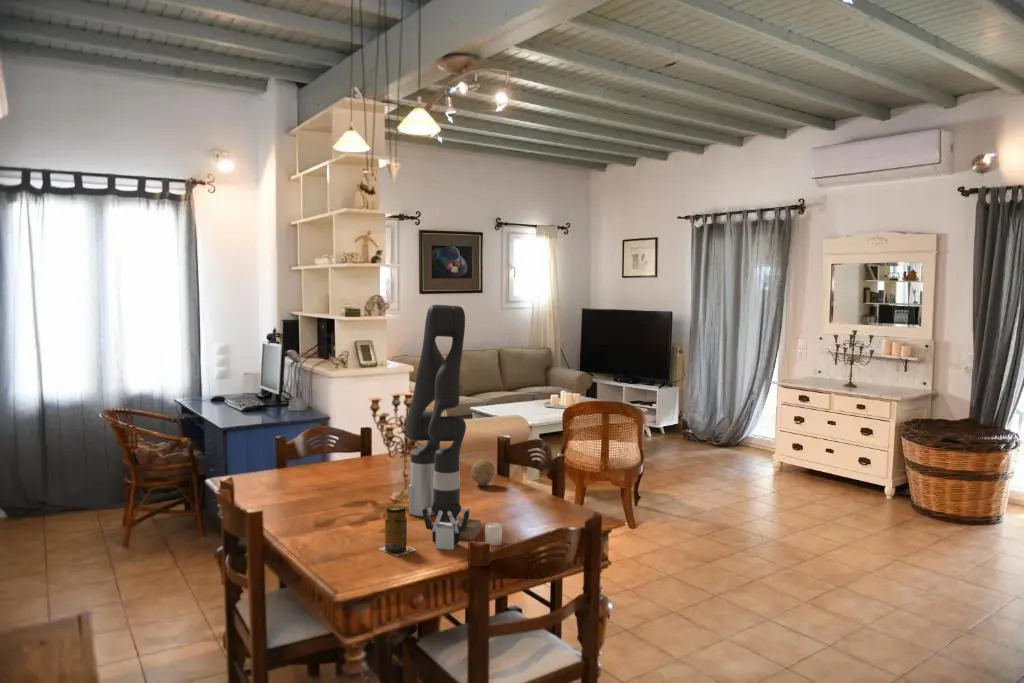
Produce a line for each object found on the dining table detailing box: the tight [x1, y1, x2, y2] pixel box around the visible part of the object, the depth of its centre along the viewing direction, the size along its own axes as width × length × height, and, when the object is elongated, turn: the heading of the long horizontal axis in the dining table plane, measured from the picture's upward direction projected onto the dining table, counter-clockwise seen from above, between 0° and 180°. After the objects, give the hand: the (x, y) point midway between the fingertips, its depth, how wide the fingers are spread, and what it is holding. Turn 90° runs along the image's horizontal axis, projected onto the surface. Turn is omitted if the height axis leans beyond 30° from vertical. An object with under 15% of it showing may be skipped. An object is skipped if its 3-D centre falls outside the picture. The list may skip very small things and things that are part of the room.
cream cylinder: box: [484, 522, 503, 546], centre depth 215 cm, size 5×5×5 cm
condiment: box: [377, 504, 417, 557], centre depth 208 cm, size 7×8×12 cm
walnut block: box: [457, 517, 481, 541], centre depth 221 cm, size 7×7×4 cm
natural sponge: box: [470, 459, 496, 487], centre depth 274 cm, size 9×9×10 cm
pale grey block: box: [435, 521, 456, 550], centre depth 211 cm, size 5×5×6 cm
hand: (446, 543), depth 212 cm, fingers closed on pale grey block, 5 cm apart
